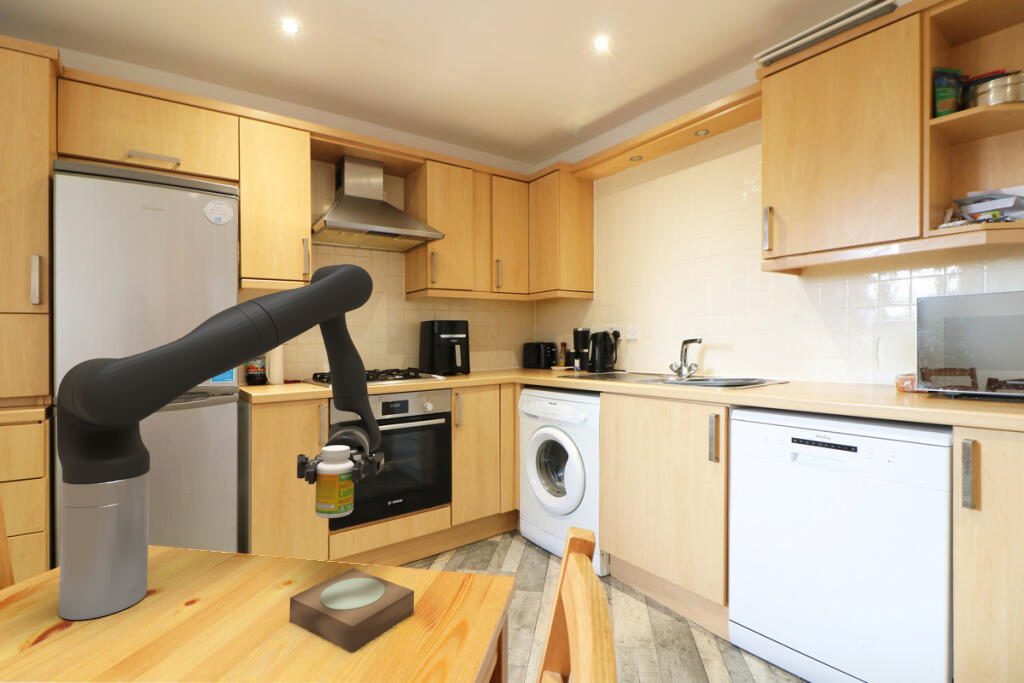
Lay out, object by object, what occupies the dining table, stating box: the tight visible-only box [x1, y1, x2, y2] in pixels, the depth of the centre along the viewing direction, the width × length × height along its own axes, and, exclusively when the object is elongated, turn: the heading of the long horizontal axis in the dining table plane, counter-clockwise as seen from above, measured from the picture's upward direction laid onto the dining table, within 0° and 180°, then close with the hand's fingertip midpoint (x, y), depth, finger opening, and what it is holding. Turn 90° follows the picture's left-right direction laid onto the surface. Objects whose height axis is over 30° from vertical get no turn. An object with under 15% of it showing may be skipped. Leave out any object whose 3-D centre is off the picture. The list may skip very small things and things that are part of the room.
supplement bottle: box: [314, 445, 355, 519], centre depth 73 cm, size 5×5×10 cm
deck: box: [289, 567, 415, 654], centre depth 63 cm, size 12×10×3 cm
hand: (333, 476), depth 70 cm, fingers closed on supplement bottle, 5 cm apart
